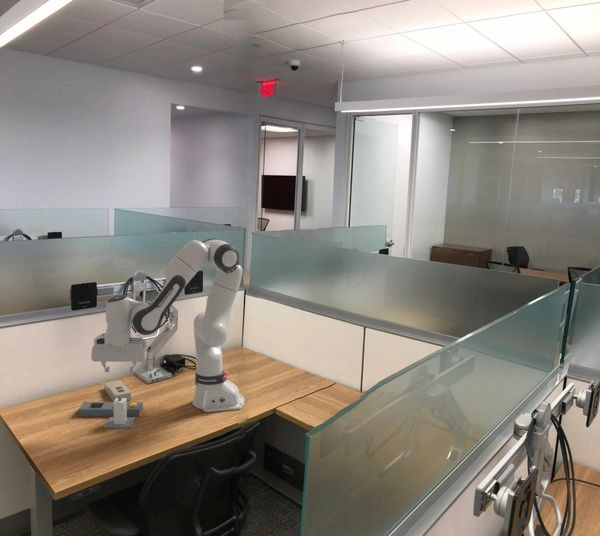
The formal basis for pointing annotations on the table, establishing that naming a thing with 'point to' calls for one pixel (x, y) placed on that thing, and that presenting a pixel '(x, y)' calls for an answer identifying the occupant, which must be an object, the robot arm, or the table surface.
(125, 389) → the electrical outlet
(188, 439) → the table surface
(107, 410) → the power strip
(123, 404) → the charger
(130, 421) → the mat
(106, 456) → the table surface
